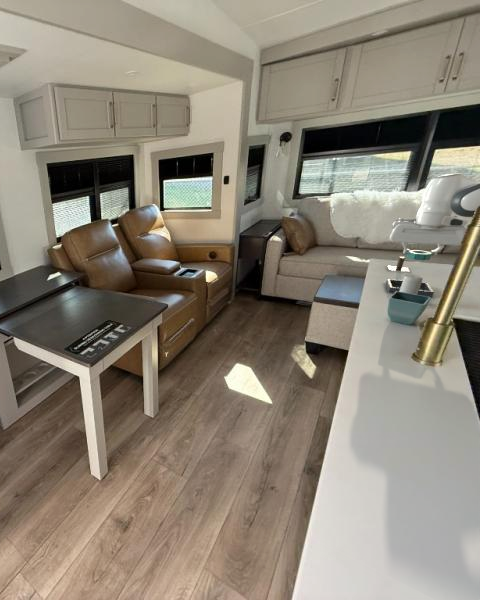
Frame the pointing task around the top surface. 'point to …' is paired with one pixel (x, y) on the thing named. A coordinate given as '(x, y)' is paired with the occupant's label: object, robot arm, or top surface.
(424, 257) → the ring
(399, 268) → the peg stand
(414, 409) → the top surface
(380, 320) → the top surface
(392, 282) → the tray
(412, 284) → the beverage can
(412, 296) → the flower pot
